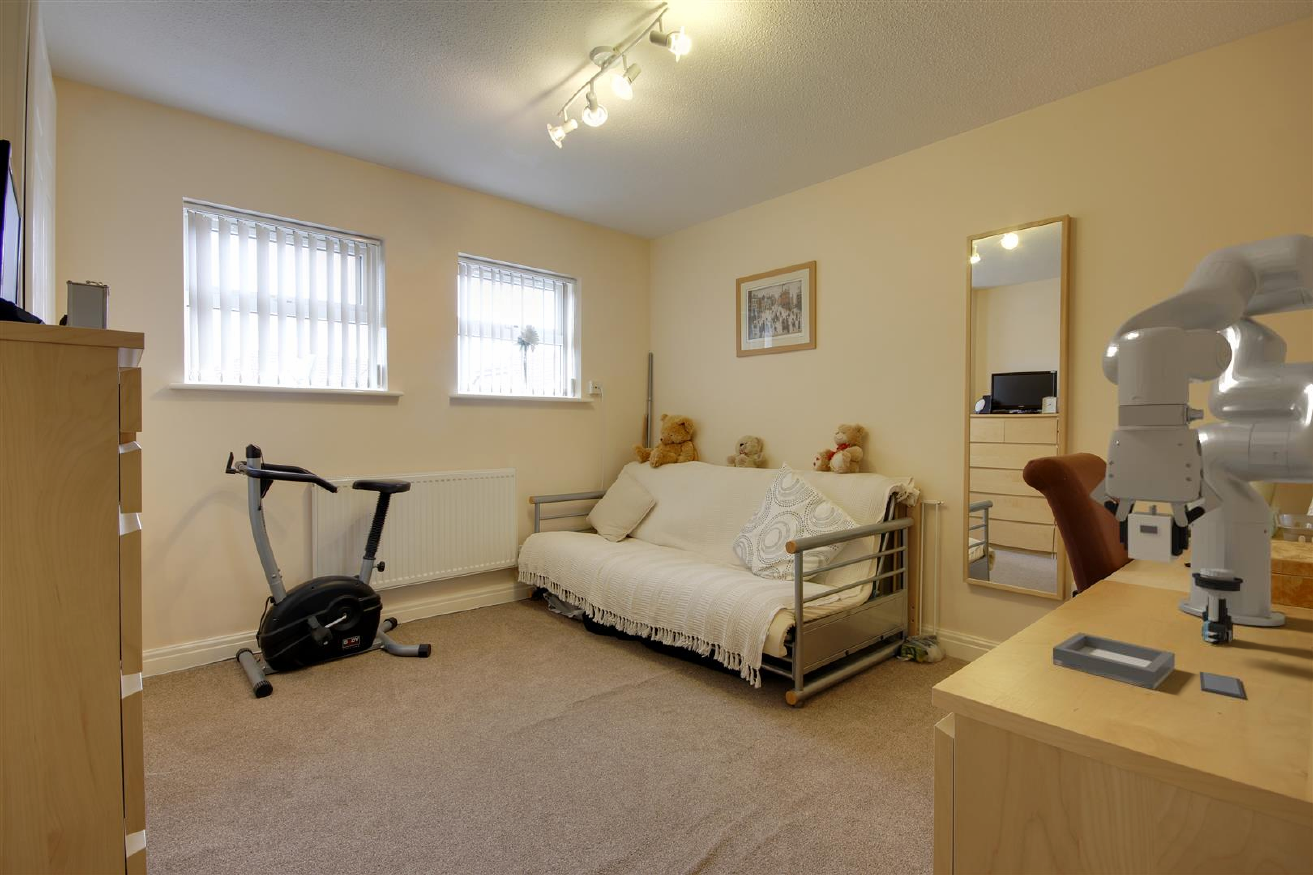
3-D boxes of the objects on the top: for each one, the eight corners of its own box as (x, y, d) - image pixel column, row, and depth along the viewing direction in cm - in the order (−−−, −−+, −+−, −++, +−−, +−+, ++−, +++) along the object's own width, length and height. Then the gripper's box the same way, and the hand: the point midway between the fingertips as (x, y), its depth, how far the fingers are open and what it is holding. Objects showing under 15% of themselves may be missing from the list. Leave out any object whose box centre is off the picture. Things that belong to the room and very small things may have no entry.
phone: (1199, 677, 73) (1199, 670, 73) (1239, 685, 71) (1239, 678, 71) (1201, 695, 68) (1201, 688, 68) (1244, 704, 66) (1244, 696, 66)
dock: (1079, 646, 82) (1079, 632, 82) (1174, 669, 74) (1174, 653, 74) (1052, 663, 76) (1053, 647, 76) (1153, 689, 68) (1153, 672, 68)
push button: (1233, 650, 81) (1233, 576, 81) (1182, 639, 86) (1183, 569, 86) (1247, 641, 85) (1248, 571, 85) (1198, 631, 90) (1198, 564, 90)
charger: (1137, 553, 86) (1136, 502, 86) (1178, 558, 82) (1177, 505, 82) (1127, 557, 83) (1127, 505, 83) (1170, 563, 80) (1170, 508, 79)
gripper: (1242, 417, 78) (1242, 557, 79) (1088, 420, 92) (1089, 540, 92) (1232, 417, 74) (1232, 566, 74) (1071, 420, 87) (1072, 546, 87)
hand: (1153, 550), depth 83 cm, fingers closed on charger, 4 cm apart
